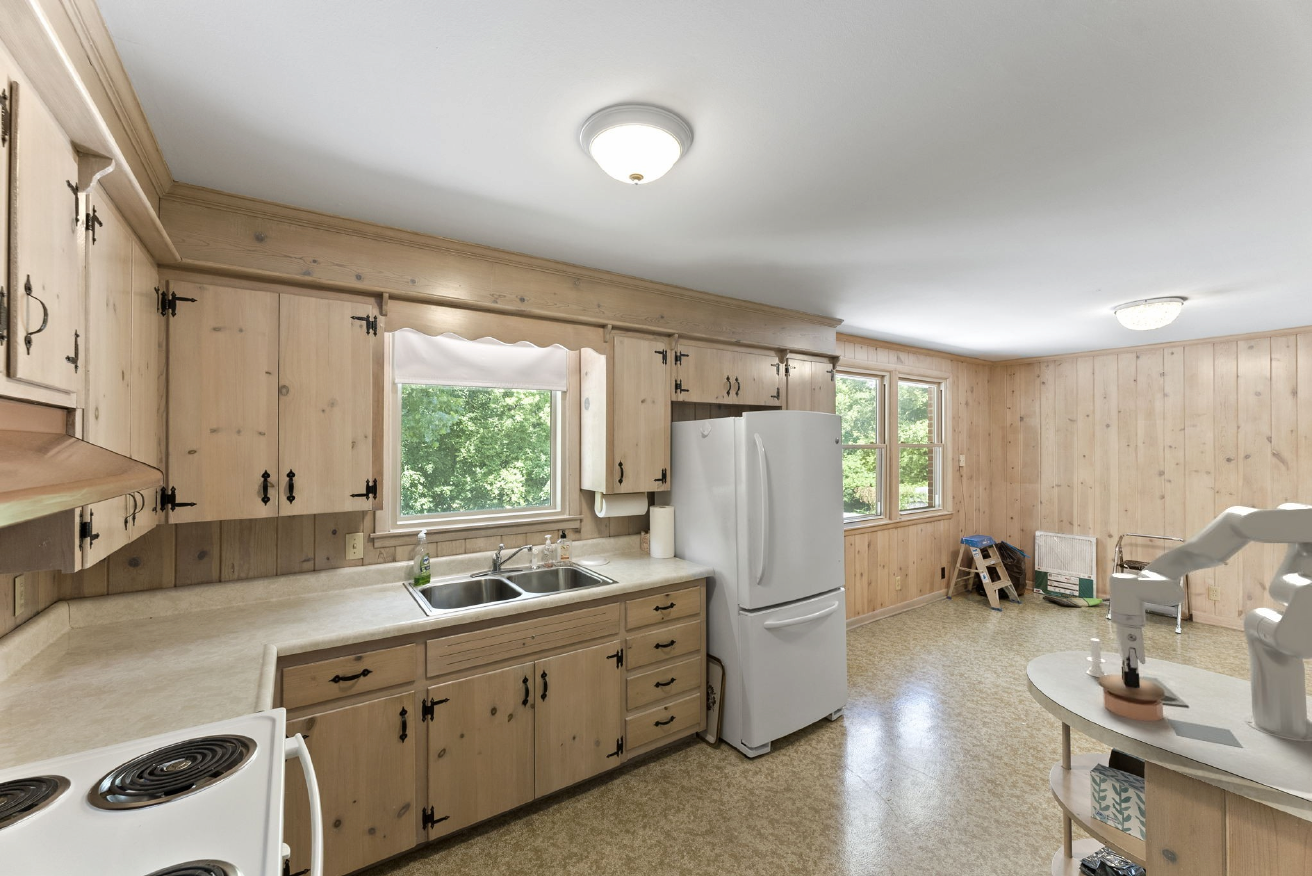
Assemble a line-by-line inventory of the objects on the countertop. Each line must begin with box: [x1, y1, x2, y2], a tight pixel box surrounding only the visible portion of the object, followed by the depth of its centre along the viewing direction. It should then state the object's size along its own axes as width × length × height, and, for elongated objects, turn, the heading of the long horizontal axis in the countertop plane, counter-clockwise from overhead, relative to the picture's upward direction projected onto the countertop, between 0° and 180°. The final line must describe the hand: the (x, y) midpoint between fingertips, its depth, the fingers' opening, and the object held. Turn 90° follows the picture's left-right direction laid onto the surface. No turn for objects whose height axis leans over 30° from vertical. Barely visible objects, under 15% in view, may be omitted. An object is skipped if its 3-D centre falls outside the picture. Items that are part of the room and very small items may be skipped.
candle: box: [1086, 637, 1107, 678], centre depth 181 cm, size 5×5×12 cm
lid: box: [1098, 665, 1165, 700], centre depth 155 cm, size 14×14×6 cm
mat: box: [1167, 718, 1244, 749], centre depth 142 cm, size 12×10×1 cm
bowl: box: [1102, 687, 1164, 722], centre depth 155 cm, size 12×12×5 cm
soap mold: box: [1139, 675, 1190, 708], centre depth 166 cm, size 10×20×4 cm, turn 157°
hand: (1130, 683), depth 155 cm, fingers closed on lid, 3 cm apart
